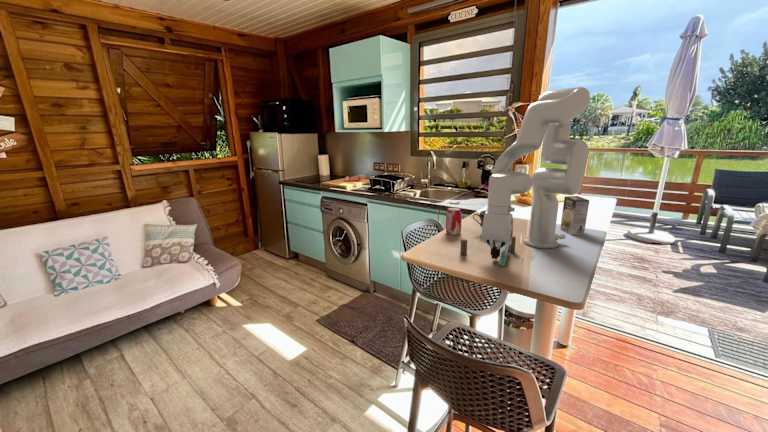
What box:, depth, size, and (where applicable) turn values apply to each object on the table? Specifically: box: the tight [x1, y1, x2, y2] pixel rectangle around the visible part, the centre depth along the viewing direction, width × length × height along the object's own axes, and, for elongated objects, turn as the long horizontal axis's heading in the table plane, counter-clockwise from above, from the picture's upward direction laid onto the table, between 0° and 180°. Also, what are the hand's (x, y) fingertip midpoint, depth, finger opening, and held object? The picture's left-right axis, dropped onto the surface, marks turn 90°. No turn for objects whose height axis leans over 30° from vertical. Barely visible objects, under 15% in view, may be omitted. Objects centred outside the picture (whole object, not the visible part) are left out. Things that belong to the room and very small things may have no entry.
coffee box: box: [559, 195, 590, 236], centre depth 139 cm, size 9×6×16 cm
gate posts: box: [459, 235, 517, 257], centre depth 118 cm, size 22×2×6 cm, turn 96°
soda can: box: [445, 206, 462, 236], centre depth 142 cm, size 7×7×12 cm
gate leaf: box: [499, 245, 509, 267], centre depth 112 cm, size 14×2×4 cm, turn 154°
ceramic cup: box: [472, 209, 487, 228], centre depth 141 cm, size 13×10×10 cm
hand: (495, 257), depth 112 cm, fingers closed
